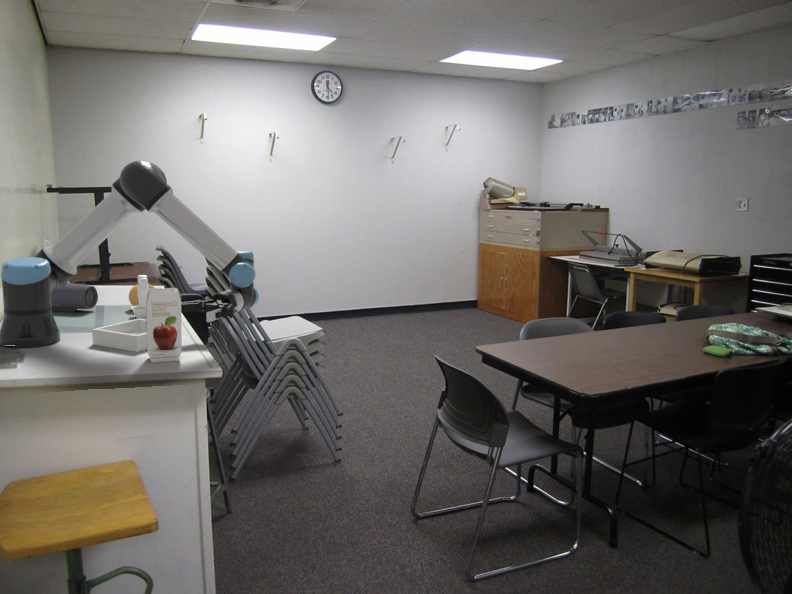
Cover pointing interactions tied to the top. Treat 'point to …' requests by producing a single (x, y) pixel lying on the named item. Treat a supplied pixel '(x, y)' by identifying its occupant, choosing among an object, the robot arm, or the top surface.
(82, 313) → the top surface
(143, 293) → the figurine
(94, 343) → the walled box
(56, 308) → the bluetooth speaker
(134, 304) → the stress ball
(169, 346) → the juice carton
